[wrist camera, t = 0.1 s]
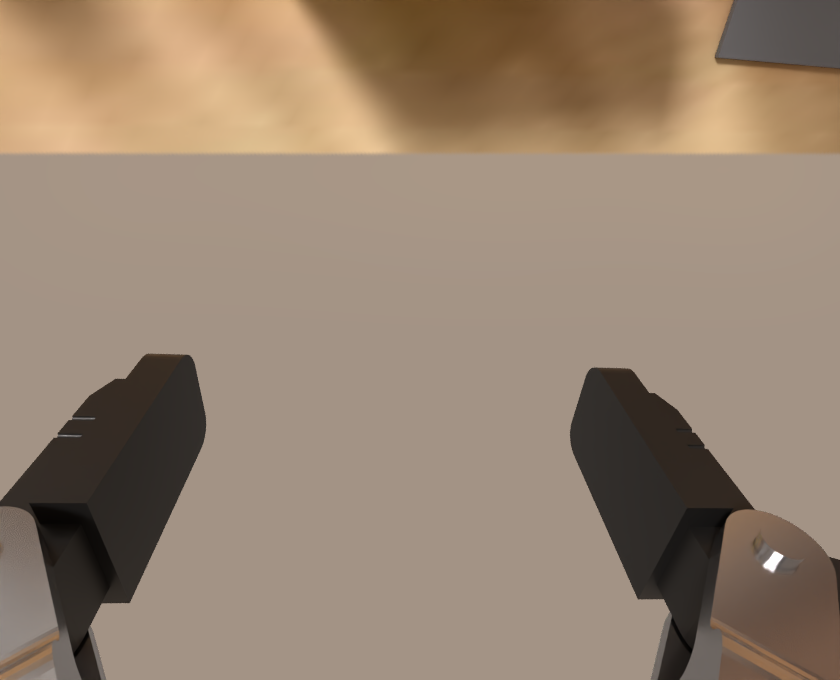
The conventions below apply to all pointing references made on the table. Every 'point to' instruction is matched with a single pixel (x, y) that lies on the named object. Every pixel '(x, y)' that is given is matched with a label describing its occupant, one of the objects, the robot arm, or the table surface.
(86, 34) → the table surface
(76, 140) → the table surface
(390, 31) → the table surface
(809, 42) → the mat
